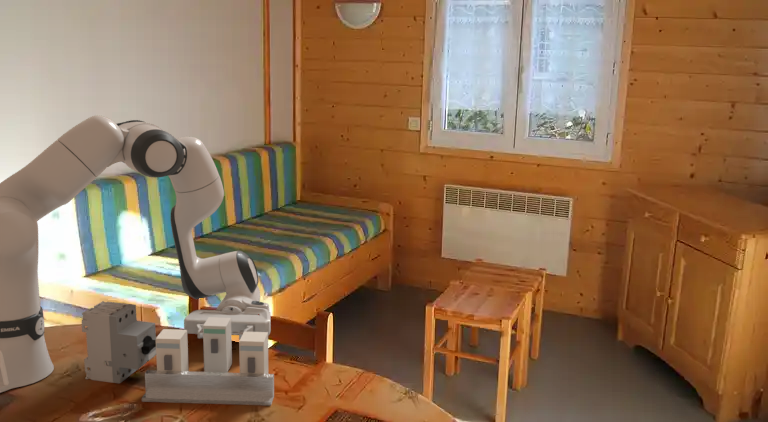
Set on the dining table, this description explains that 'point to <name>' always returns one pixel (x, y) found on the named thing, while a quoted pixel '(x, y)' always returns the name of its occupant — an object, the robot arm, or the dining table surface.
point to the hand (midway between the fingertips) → (221, 336)
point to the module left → (172, 350)
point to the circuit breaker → (116, 341)
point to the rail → (209, 387)
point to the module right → (254, 352)
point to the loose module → (217, 344)
